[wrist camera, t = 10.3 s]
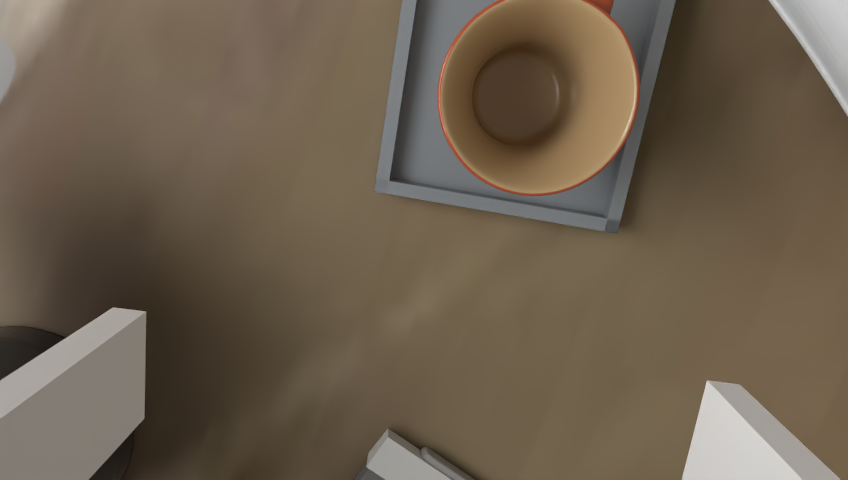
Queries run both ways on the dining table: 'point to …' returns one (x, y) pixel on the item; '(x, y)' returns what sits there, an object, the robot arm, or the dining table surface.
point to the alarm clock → (406, 462)
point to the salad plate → (821, 38)
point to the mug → (539, 94)
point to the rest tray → (435, 161)
